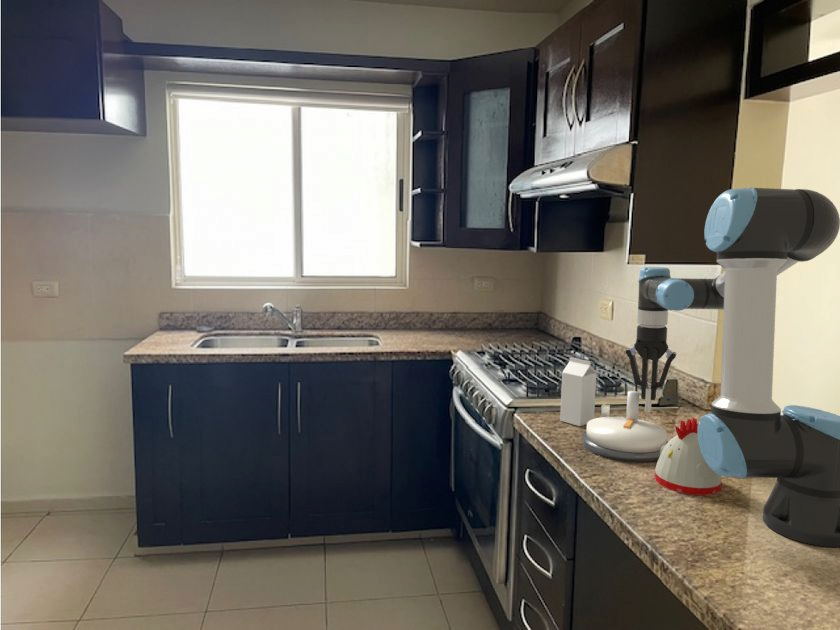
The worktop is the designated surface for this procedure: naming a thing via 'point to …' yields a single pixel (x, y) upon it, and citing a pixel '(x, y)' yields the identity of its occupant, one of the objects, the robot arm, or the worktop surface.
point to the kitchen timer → (686, 464)
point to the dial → (627, 431)
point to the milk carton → (578, 392)
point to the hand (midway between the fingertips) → (647, 410)
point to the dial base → (618, 454)
